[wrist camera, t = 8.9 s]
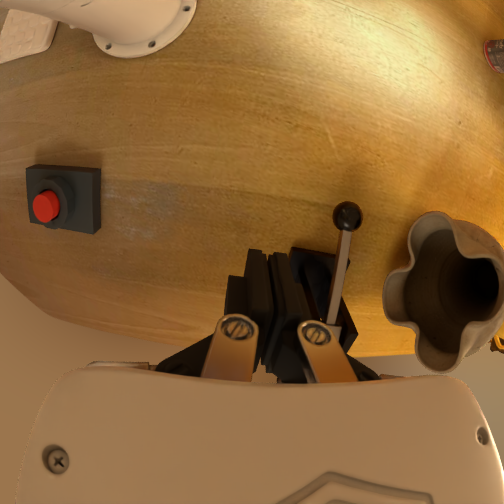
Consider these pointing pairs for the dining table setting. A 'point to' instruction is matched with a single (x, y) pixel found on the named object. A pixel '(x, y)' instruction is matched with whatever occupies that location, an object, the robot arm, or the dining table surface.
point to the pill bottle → (495, 54)
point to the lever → (341, 258)
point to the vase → (447, 290)
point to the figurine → (494, 346)
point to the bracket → (321, 289)
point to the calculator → (25, 35)
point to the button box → (67, 195)
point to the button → (46, 206)
